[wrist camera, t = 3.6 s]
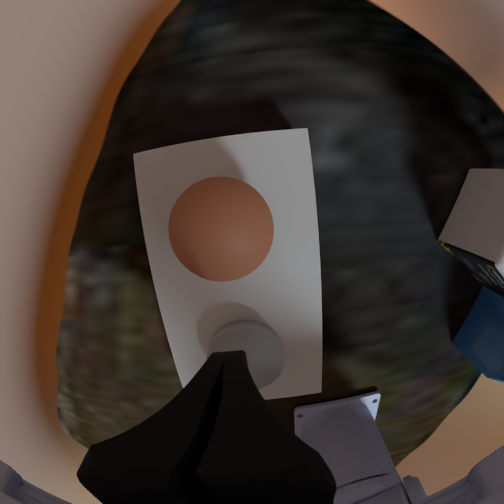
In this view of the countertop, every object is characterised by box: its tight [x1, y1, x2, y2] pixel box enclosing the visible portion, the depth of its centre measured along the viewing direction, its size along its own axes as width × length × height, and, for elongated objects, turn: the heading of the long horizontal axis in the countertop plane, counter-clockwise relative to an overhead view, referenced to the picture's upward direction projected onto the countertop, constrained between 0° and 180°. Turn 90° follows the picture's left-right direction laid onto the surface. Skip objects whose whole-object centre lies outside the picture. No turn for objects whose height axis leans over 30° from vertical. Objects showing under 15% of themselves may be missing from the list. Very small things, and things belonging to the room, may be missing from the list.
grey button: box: [206, 320, 284, 389], centre depth 17 cm, size 4×4×4 cm
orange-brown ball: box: [168, 177, 274, 282], centre depth 14 cm, size 4×4×4 cm
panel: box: [133, 128, 322, 400], centre depth 17 cm, size 17×10×3 cm, turn 7°
